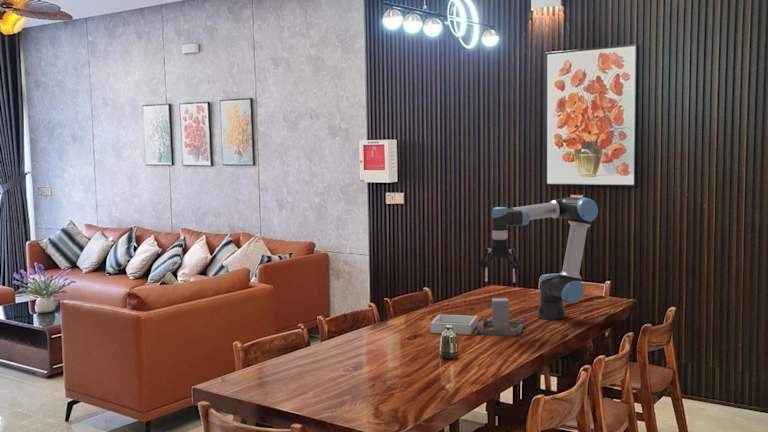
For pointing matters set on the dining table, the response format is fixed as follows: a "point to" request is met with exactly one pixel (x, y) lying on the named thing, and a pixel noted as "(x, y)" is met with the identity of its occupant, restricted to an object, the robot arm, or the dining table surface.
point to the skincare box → (500, 313)
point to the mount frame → (486, 322)
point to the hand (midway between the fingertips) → (500, 281)
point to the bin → (454, 324)
